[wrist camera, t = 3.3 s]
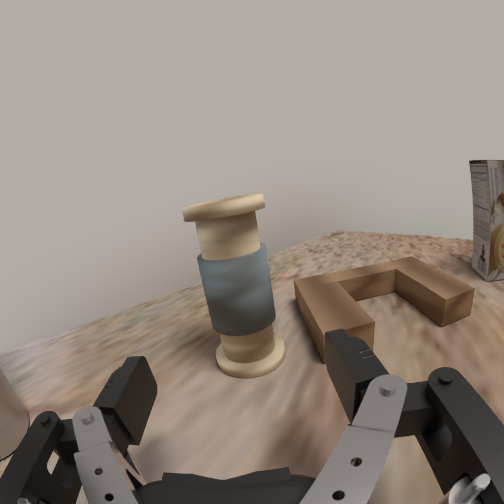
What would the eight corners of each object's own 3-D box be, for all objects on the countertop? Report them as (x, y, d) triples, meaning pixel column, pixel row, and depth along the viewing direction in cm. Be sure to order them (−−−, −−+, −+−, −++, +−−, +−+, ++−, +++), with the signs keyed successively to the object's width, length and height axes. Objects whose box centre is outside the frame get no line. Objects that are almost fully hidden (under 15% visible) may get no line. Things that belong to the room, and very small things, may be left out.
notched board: (324, 363, 21) (323, 334, 20) (296, 302, 33) (293, 279, 33) (470, 314, 21) (474, 288, 20) (410, 276, 33) (411, 256, 33)
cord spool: (215, 381, 21) (172, 211, 17) (220, 343, 27) (190, 204, 23) (290, 371, 21) (266, 194, 17) (280, 334, 27) (260, 192, 23)
